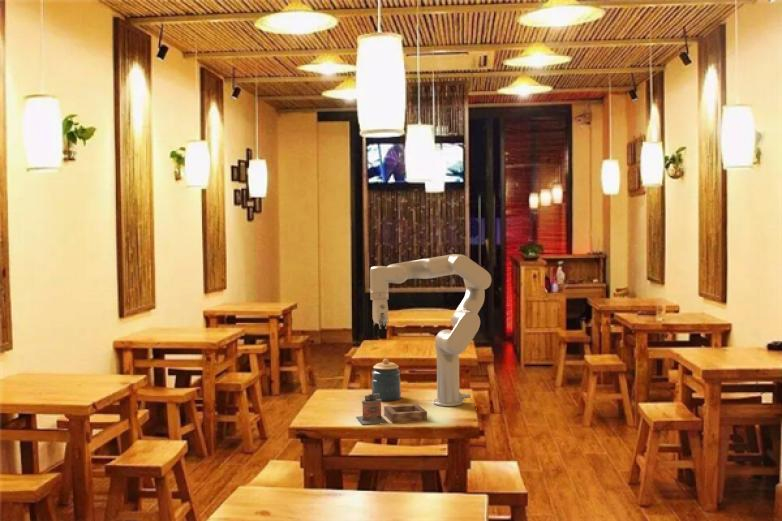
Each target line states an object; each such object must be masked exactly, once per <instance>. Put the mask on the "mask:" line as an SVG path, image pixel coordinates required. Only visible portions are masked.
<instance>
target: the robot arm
mask: <svg viewBox="0 0 782 521" xmlns="http://www.w3.org/2000/svg"><path fill="white" fill-rule="evenodd" d="M451 275H458V276H460V278H462V279H463V283H464V286H465V294H464V297H463V299H462V300H461V301H460V303H459V304H458V306H457V308H456V309H455V311H454V312H453V314H452V315H451V317H450V324H451V326H452V328H453V329H441V330H440V331H439V332H438V333H437V334H436V336H435V338H434V347H435V354H436V398H434V400H433V404H434V405H435V406H439V407H457V406H462V405H463V404H464V399H470V398H471V394H470V393H462V392H461V391H460V358H459V356H460V355H461V354H462V353H464V352H465V351H466V350H467V348H468V347H469V345H470V344H471V342H472V341H473V339H474V338H475V336H476V334H477V333H478V331H479V330H480V329H479V328H480V325H481V319H480V316H479V313H480V310H481V308H482V307H483V305H484V303H485V297H486V296H485V295H486V294H485V290H487V289H488V288H490V286H491V283H492V276H491V274H490V273H489V272H488V270H486V269H485V268H483V267H482V266H481V265H479V264H478V263H477V262H476V261H473V260H472V259H471V258H469V257H468V256H467V255H464V254H459V253H458V254H456V253H452V254H446V255H445V254H444V255H441V256H434V257H428V258H422V259H421V258H420V259H417V260H408V261H403V262H399V263H398V262H396V263H392V264H388V265H387V266H383V265H374V266H371V267H370V269H369V283H370V285H369V286H370V288H369V292H370V294H369V295H370V300H371V301H372V320H373V336H374V337H376V336H377V337H378V339H379V340H383V339H387V336H388V335H387V332H388V330H387V324H389V320H390V318H389V306H388V300H389V298H390V297H389V296H390V295H389V284H402V283H405V282H406V281H407V280H412V279H422V280H424V279H425V280H427V279H429V280H430V279H434V278H441V277H445V276H451Z"/></svg>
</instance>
